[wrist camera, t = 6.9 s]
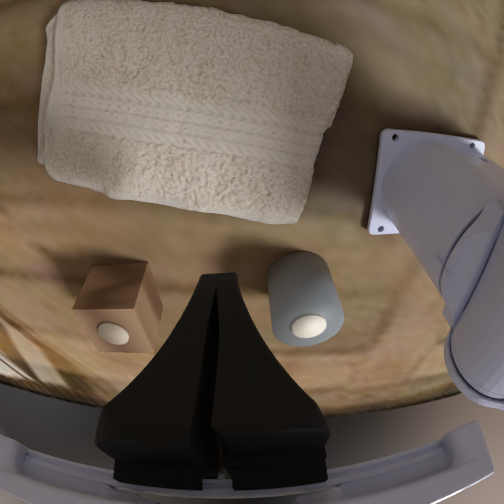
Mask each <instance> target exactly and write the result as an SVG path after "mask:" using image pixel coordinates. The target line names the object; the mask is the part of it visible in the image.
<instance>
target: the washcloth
mask: <svg viewBox="0 0 504 504" xmlns="http://www.w3.org/2000/svg"><path fill="white" fill-rule="evenodd" d="M45 31H46V35H47V47H46V59H45V65H44V71H43V76H42V84H41V95H40V106H39V117H38V157H37V161H38V162H39V163H41V164H44V165H45V167H46V171H47V173H48V174H49V175H50V177H52V178H53V179H55V180H57V181H60V182H65V183H68V184H70V185H78V186H82V187H88V188H91V189H93V190H95V191H99V192H103V193H105V194H106V195H107V196H108V197H109V198H112V199H116V200H136V201H142V202H150V203H158V204H162V205H168V206H172V207H177V208H181V209H187V210H190V211H192V210H195V211H200V212H205V213H218V214H224V215H230V216H234V217H239V218H244V219H247V220H252V221H258V222H264V223H267V224H287V223H296V222H297V221H298V220H299V217H300V214H301V213H302V212H303V211H304V205H305V203H306V200H307V196H308V193H309V191H310V186H311V183H312V175H313V173H314V166H313V165H314V163H315V159H316V156H317V154H318V152H319V149H320V144H321V142H322V139H323V133H324V132H325V131H326V129H327V128H330V127H331V126H332V121H333V120H334V117H335V114H336V112H337V108H338V107H340V105H339V103H340V99H341V98H342V96H343V93H344V91H345V86H346V81H347V78H348V76H349V74H350V71H351V66H352V64H353V54H352V53H351V51H350V50H348V49H347V48H346V47H343V45H340V44H339V43H337V44H334V43H332V42H331V41H330V40H326V39H322V38H320V37H317V36H314V35H312V34H306V33H304V32H303V33H302V32H299V31H298V30H296V29H295V28H292V27H289V26H281V25H280V24H278V23H276V22H275V23H274V22H271V21H265V20H263V21H262V20H259V19H252V18H248V17H246V16H244V15H242V14H231V13H226V12H224V11H221V10H219V9H216V8H214V7H209V8H206V7H198V6H197V5H196V6H189V5H186V4H181V5H176V4H175V3H173V2H148V1H141V0H136V1H135V0H127V1H126V0H76V1H74V0H71V1H67V2H66V3H63V4H62V5H61V6H60V8H59V10H58V13H57V14H56V15H55V16H54V17H53V18H52V19H51V20H50V22H49V23H48V24H47V26H46V30H45Z"/></svg>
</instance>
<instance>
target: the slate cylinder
mask: <svg viewBox="0 0 504 504" xmlns="http://www.w3.org/2000/svg"><path fill="white" fill-rule="evenodd" d="M267 286H268V294H269V303H270V312H271V320H272V329H273V334H274V335H275V337H276V338H277V339H278V340H279V341H281V342H282V343H285V344H287V345H291V346H310V345H315V344H318V343H321V342H323V341H325V340H327V339H329V338H331V337H332V336H333V335H335V334H336V333H337V332H338V331H339V330H340V328H341V327H342V325H343V322H344V313H343V310H342V307H341V304H340V301H339V298H338V295H337V292H336V289H335V286H334V283H333V280H332V277H331V274H330V271H329V268H328V266H327V263H326V262H325V260H324V259H323V258H321V257H320V256H318V255H317V254H314V253H311V252H294V253H290V254H287V255H285V256H283V257H281V258H279V259H278V260H277V261H275V262H274V263H273V264H272V266H271V267H270V269H269V271H268V274H267Z"/></svg>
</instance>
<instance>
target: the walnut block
mask: <svg viewBox="0 0 504 504" xmlns="http://www.w3.org/2000/svg"><path fill="white" fill-rule="evenodd" d="M162 309H163V305H162V302H161V300H160V297H159V294H158V291H157V288H156V285H155V282H154V279H153V276H152V272H151V269H150V266H149V263H148V262H137V263H123V264H108V265H93V266H92V268H91V270H90V272H89V274H88V276H87V278H86V280H85V282H84V284H83V287H82V289H81V291H80V293H79V295H78V297H77V300H76V302H75V304H74V306H73V309H72V310H73V312H74V314H75V315H76V317H77V319H78V320H79V322H80V324H81V325H82V327H83V329H84V330H85V332H86V333H87V335H88V337H89V338H90V340H91V341H92V343H93V344H94V346H95V347H96V349H97V350H98V352H126V353H154V352H155V346H156V341H157V335H158V330H159V324H160V319H161V314H162Z"/></svg>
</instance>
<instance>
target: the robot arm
mask: <svg viewBox="0 0 504 504" xmlns="http://www.w3.org/2000/svg"><path fill="white" fill-rule="evenodd" d="M394 134H396V138H395V139H394V140H392V136H393V135H394ZM471 143H472V145H471V147H470V144H471ZM484 149H485V144H484V142H483V141H481V140H478V139H472V138H466V137H460V136H453V135H446V134H438V133H430V132H421V131H411V130H401V129H388V128H387V129H384V130H382V132H381V133H380V140H379V149H378V158H377V166H376V174H375V181H374V189H373V195H372V202H371V208H370V214H369V220H368V226H367V230H368V231H369V233H370V234H372V235H378V234H394V233H400V234H401V235H402V237H403V238H404V240H405V241H406V242H407V244H408V245H409V247H410V248H411V250H412V251H413V253H414V254H415V256H416V257H417V258H418V260H419V261H420V263H421V264H422V266H423V267H424V269H425V271H426V272H427V274H428V275H429V277H430V278H431V280H432V281H433V283H434V285H435V286H436V288H437V289H438V291H439V293H440V294H441V296H442V297H443V299H444V302H445V307H444V310H443V315H444V317H445V318H446V320H447V322H448V324H449V326H450V327H451V329H450V331H449V333H448V334H447V337H446V340H445V345H444V359H445V364H446V367H447V370H448V373H449V375H450V377H451V379H452V380H453V382H454V383H455V385H456V386H457V388H458V389H459V390H460V391H461V392H462V393H463V394H464V395H465V396H467V397H468V398H469V399H470V400H472V401H474V402H476V403H478V404H480V405H483V406H487V407H493V408H498V409H501V410H504V169H503V168H502V167H500V166H499V165H497V164H496V163H494V162H493V161H492V160H490V159H489V158H487V157H486V156H484V155H483V154H484ZM380 226H382V227H381V228H380V229H378V228H379V227H380ZM329 438H330V431H329V428H328V425H327V422H326V420H325V418H324V416H323V414H322V412H321V410H320V409H319V407H318V405H317V403H316V402H315V401H314V400H313V399H312V398H311V397H310V396H308V395H307V394H306V393H305V392H304V391H303V390H302V389H301V387H300V386H299V385H298V384H297V383H296V382H295V381H294V380H293V379H292V378H291V377H290V375H289V374H288V373H287V372H286V370H285V369H284V368H283V367H282V365H281V364H280V363H279V362H278V360H277V359H276V358H275V356H274V355H273V354H272V352H271V351H270V349H269V348H268V346H267V345H266V343H265V342H264V340H263V339H262V337H261V335H260V333H259V332H258V330H257V328H256V326H255V324H254V323H253V321H252V319H251V317H250V315H249V312H248V310H247V308H246V305H245V303H244V301H243V298H242V295H241V292H240V289H239V285H238V279H237V274H236V273H234V272H232V273H217V274H203V275H202V276H201V277H200V279H199V281H198V284H197V286H196V288H195V291H194V293H193V295H192V297H191V299H190V301H189V303H188V305H187V307H186V309H185V311H184V312H183V314H182V316H181V318H180V319H179V321H178V323H177V324H176V326H175V328H174V329H173V331H172V333H171V334H170V336H169V337H168V339H167V340H166V341H165V343H164V344H163V346H162V347H161V348H160V350H159V351H158V352H157V354H156V355H155V356H154V357H153V359H152V360H151V361H150V362H149V364H148V365H147V366H146V367H145V368H144V369H143V370H142V371H141V373H140V374H139V375H138V376H137V377H136V378H135V379H134V380H133V381H132V382H131V383H130V384H129V385H128V386H127V387H126V388H125V389H124V390H123V391H121V392H120V393H119V394H118V395H117V396H116V397H114V398H113V399H112V400H111V401H110V402H109V403H107V404H106V405H105V406H104V407H103V409H102V412H101V415H100V418H99V421H98V426H97V431H96V436H95V444H96V446H97V447H98V448H99V449H100V450H102V451H103V452H104V453H106V454H107V455H109V456H110V457H112V458H114V459H115V465H114V470H109V469H103V468H98V467H93V466H89V465H84V464H79V463H76V462H71V461H67V460H63V459H60V458H56V457H53V456H49V455H46V454H43V453H39V452H36V451H33V450H30V449H27V448H26V447H25V446H24V445H22V444H21V443H19V442H17V441H15V440H13V439H10V438H8V437H5V436H3V435H0V489H1V490H3V491H5V492H7V493H9V494H11V495H13V496H14V497H17V498H19V499H21V500H23V501H25V502H27V503H29V504H160V503H159V502H155V501H152V500H148V499H146V498H143V497H142V496H140V495H137V494H132V493H128V492H124V491H119V490H116V489H121V490H126V491H133V492H139V493H147V494H155V495H165V496H175V497H189V498H256V497H270V496H281V495H291V494H299V493H306V492H313V491H318V492H313V493H309V494H305V495H300V496H297V498H296V502H294V504H435V503H437V502H440V501H441V500H444V499H446V498H448V497H450V496H452V495H454V494H456V493H458V492H460V491H462V490H464V489H466V488H468V487H470V486H472V485H474V484H476V483H477V482H479V481H481V480H483V479H485V478H486V477H488V476H490V475H492V474H493V473H494V467H493V464H492V461H491V458H490V455H489V451H488V448H487V445H486V442H485V439H484V436H483V434H482V431H481V428H480V425H479V423H478V420H474V421H472V422H469V423H467V424H465V425H462V426H460V427H457V428H455V429H453V430H451V431H450V432H448V433H447V434H445V435H444V436H443V437H442V439H439V440H436V441H434V442H431V443H428V444H425V445H423V446H419V447H417V448H413V449H411V450H407V451H404V452H401V453H397V454H394V455H390V456H387V457H383V458H379V459H376V460H372V461H368V462H363V463H359V464H355V465H350V466H345V467H340V468H335V469H330V470H327V468H326V462H325V459H326V452H325V445H326V443H327V441H328V440H329ZM224 468H226V470H227V471H228V473H229V475H230V476H231V479H223V478H224V477H225V473H224ZM336 487H337V488H336ZM325 489H326V490H325ZM320 490H322V491H320Z"/></svg>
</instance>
